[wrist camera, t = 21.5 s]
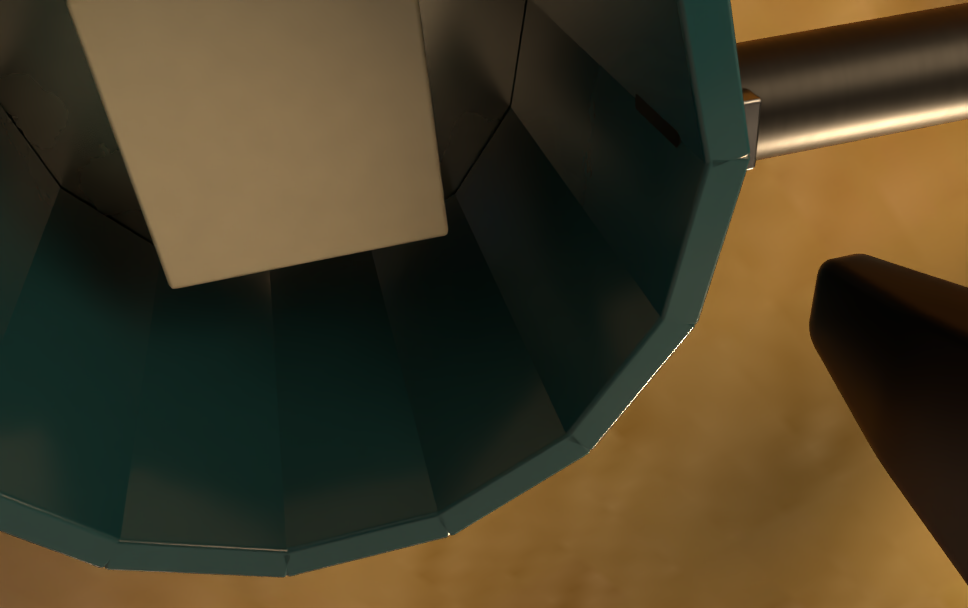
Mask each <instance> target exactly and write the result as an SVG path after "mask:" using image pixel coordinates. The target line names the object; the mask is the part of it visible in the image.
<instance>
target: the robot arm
mask: <svg viewBox="0 0 968 608" xmlns="http://www.w3.org/2000/svg"><path fill="white" fill-rule="evenodd" d="M809 330H810V336H811V339H812V342H813V344H814V347H815V349H816V350H817V352H818V354H819V356H820V357H821V359H822V361H823V363H824V365H825V366H826V368H827V370H828V372H829V374H830V375H831V377H832V379H833V381H834V382H835V384H836V386H837V388H838V390H839V391H840V393H841V395H842V397H843V398H844V400H845V402H846V404H847V406H848V407H849V409H850V411H851V413H852V415H853V416H854V418H855V420H856V422H857V423H858V425H859V427H860V429H861V431H862V432H863V434H864V436H865V438H866V439H867V441H868V443H869V444H870V446H871V448H872V449H873V451H874V453H875V454H876V456H877V458H878V459H879V461H880V462H881V464H882V465H883V467H884V468H885V470H886V471H887V473H888V474H889V475H890V477H891V478H892V480H893V481H894V483H895V484H896V485H897V487H898V488H899V490H900V491H901V492H902V494H903V495H904V497H905V498H906V499H907V501H908V502H909V504H910V505H911V506H912V508H913V509H914V511H915V512H916V513H917V515H918V516H919V518H920V519H921V520H922V522H923V523H924V525H925V526H926V527H927V529H928V530H929V532H930V533H931V534H932V536H933V537H934V539H935V540H936V541H937V543H938V544H939V546H940V547H941V548H942V550H943V551H944V553H945V554H946V555H947V557H948V558H949V560H950V561H951V562H952V564H953V565H954V567H955V568H956V569H957V571H958V572H959V574H960V575H961V576H962V578H963V579H964V581H965V582H966V583H967V585H968V288H967V287H964V286H961V285H958V284H955V283H952V282H949V281H946V280H943V279H939V278H936V277H933V276H930V275H927V274H924V273H921V272H918V271H915V270H912V269H909V268H906V267H903V266H899V265H896V264H893V263H890V262H887V261H884V260H881V259H878V258H875V257H872V256H869V255H865V254H853V255H848V256H843V257H839V258H834V259H829V260H827V261H826V262H824V263H823V264H822V265H821V267H820V269H819V271H818V274H817V280H816V286H815V291H814V297H813V303H812V309H811V315H810V321H809Z"/></svg>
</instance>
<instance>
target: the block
mask: <svg viewBox="0 0 968 608" xmlns="http://www.w3.org/2000/svg"><path fill="white" fill-rule="evenodd" d="M66 6H67V9H68V12H69V14H70V17H71V20H72V23H73V25H74V28H75V31H76V34H77V36H78V39H79V42H80V44H81V47H82V50H83V53H84V55H85V58H86V61H87V64H88V66H89V69H90V72H91V74H92V77H93V80H94V83H95V85H96V88H97V91H98V94H99V96H100V99H101V102H102V104H103V107H104V110H105V113H106V115H107V118H108V121H109V124H110V126H111V129H112V132H113V135H114V137H115V140H116V143H117V145H118V148H119V151H120V154H121V156H122V159H123V162H124V165H125V167H126V170H127V173H128V175H129V178H130V181H131V184H132V186H133V189H134V192H135V195H136V197H137V200H138V203H139V205H140V208H141V211H142V214H143V216H144V219H145V222H146V225H147V227H148V230H149V233H150V236H151V238H152V241H153V244H154V246H155V249H156V252H157V255H158V257H159V260H160V263H161V266H162V268H163V271H164V274H165V276H166V279H167V282H168V285H169V286H170V287H171V288H172V289H178V288H183V287H188V286H193V285H198V284H203V283H208V282H213V281H218V280H223V279H228V278H233V277H238V276H243V275H248V274H254V273H259V272H264V271H269V270H274V269H279V268H284V267H289V266H294V265H299V264H304V263H309V262H314V261H319V260H324V259H329V258H334V257H339V256H344V255H349V254H354V253H359V252H364V251H369V250H375V249H380V248H385V247H390V246H395V245H400V244H405V243H410V242H415V241H420V240H425V239H430V238H435V237H440V236H445V235H446V234H447V233H448V223H447V215H446V208H445V200H444V192H443V184H442V176H441V169H440V161H439V153H438V145H437V138H436V130H435V122H434V114H433V107H432V99H431V91H430V83H429V75H428V68H427V60H426V52H425V44H424V37H423V29H422V21H421V13H420V6H419V0H66Z"/></svg>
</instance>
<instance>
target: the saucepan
mask: <svg viewBox="0 0 968 608" xmlns="http://www.w3.org/2000/svg"><path fill="white" fill-rule="evenodd" d="M419 6H420V13H421V21H422V29H423V37H424V44H425V52H426V60H427V68H428V75H429V83H430V91H431V99H432V107H433V114H434V122H435V130H436V138H437V145H438V153H439V161H440V169H441V176H442V184H443V192H444V200H445V208H446V215H447V223H448V233H447V234H446V235H445V236H440V237H435V238H430V239H425V240H420V241H415V242H410V243H405V244H400V245H395V246H390V247H385V248H380V249H375V250H369V251H364V252H359V253H354V254H349V255H344V256H339V257H334V258H329V259H324V260H319V261H314V262H309V263H304V264H299V265H294V266H289V267H284V268H279V269H274V270H269V271H264V272H259V273H254V274H248V275H243V276H238V277H233V278H228V279H223V280H218V281H213V282H208V283H203V284H198V285H193V286H188V287H183V288H178V289H172V288H171V287H170V286H169V285H168V282H167V279H166V276H165V274H164V271H163V268H162V266H161V263H160V260H159V257H158V255H157V252H156V249H155V246H154V244H153V241H152V238H151V236H150V233H149V230H148V227H147V225H146V222H145V219H144V216H143V214H142V211H141V208H140V205H139V203H138V200H137V197H136V195H135V192H134V189H133V186H132V184H131V181H130V178H129V175H128V173H127V170H126V167H125V165H124V162H123V159H122V156H121V154H120V151H119V148H118V145H117V143H116V140H115V137H114V135H113V132H112V129H111V126H110V124H109V121H108V118H107V115H106V113H105V110H104V107H103V104H102V102H101V99H100V96H99V94H98V91H97V88H96V85H95V83H94V80H93V77H92V74H91V72H90V69H89V66H88V64H87V61H86V58H85V55H84V53H83V50H82V47H81V44H80V42H79V39H78V36H77V34H76V31H75V28H74V25H73V23H72V20H71V17H70V14H69V12H68V9H67V6H66V0H0V531H1V532H4V533H7V534H9V535H12V536H15V537H17V538H20V539H23V540H26V541H28V542H31V543H34V544H36V545H39V546H42V547H45V548H47V549H50V550H53V551H55V552H58V553H61V554H64V555H66V556H69V557H72V558H74V559H77V560H80V561H83V562H85V563H88V564H91V565H93V566H96V567H99V568H103V567H105V569H108V570H126V571H148V572H171V573H193V574H215V575H238V576H260V577H285V576H286V575H287V576H294V575H298V574H302V573H306V572H310V571H314V570H318V569H322V568H326V567H330V566H334V565H338V564H342V563H346V562H350V561H354V560H358V559H362V558H366V557H370V556H374V555H378V554H382V553H386V552H390V551H394V550H398V549H402V548H406V547H410V546H414V545H418V544H422V543H426V542H430V541H434V540H438V539H442V538H446V537H448V536H450V535H455V534H456V533H458V532H460V531H461V530H463V529H465V528H466V527H468V526H470V525H471V524H473V523H475V522H476V521H478V520H480V519H481V518H483V517H484V516H486V515H488V514H489V513H491V512H493V511H494V510H496V509H498V508H499V507H501V506H503V505H504V504H506V503H508V502H509V501H511V500H513V499H514V498H516V497H518V496H519V495H521V494H522V493H524V492H526V491H527V490H529V489H531V488H532V487H534V486H536V485H537V484H539V483H541V482H542V481H544V480H546V479H547V478H549V477H551V476H552V475H554V474H556V473H557V472H559V471H560V470H562V469H564V468H565V467H567V466H569V465H570V464H572V463H574V462H575V461H577V460H579V459H580V458H582V457H584V456H585V455H587V454H588V453H589V452H590V450H592V449H594V447H595V446H596V445H597V444H598V443H599V441H600V440H601V439H602V438H603V437H604V435H605V434H606V433H607V432H608V431H609V429H610V428H611V427H612V426H613V425H614V423H615V422H616V421H617V420H618V419H619V417H620V416H621V415H622V414H623V413H624V411H625V410H626V409H627V408H628V407H629V405H630V404H631V403H632V402H633V401H634V399H635V398H636V397H637V396H638V395H639V393H640V392H641V391H642V390H643V389H644V387H645V386H646V385H647V384H648V383H649V381H650V380H651V379H652V378H653V377H654V375H655V374H656V373H657V372H658V371H659V369H660V368H661V367H662V366H663V365H664V363H665V362H666V361H667V360H668V359H669V357H670V356H671V355H672V354H673V353H674V351H675V350H676V349H677V348H678V347H679V345H680V344H681V343H682V342H683V341H684V339H685V338H686V337H687V336H688V335H689V333H690V332H691V331H692V330H693V329H694V327H695V324H696V323H697V322H698V320H699V317H700V314H701V311H702V308H703V305H704V302H705V299H706V295H707V292H708V289H709V286H710V283H711V280H712V277H713V274H714V271H715V268H716V264H717V261H718V258H719V255H720V252H721V249H722V246H723V243H724V240H725V236H726V233H727V230H728V227H729V224H730V221H731V218H732V215H733V212H734V208H735V205H736V202H737V199H738V196H739V193H740V190H741V187H742V184H743V180H744V177H745V174H746V171H747V170H752V169H754V167H755V162H756V160H761V159H766V158H771V157H776V156H781V155H786V154H791V153H796V152H801V151H806V150H812V149H817V148H822V147H827V146H832V145H837V144H842V143H847V142H852V141H857V140H862V139H868V138H873V137H878V136H883V135H888V134H893V133H898V132H903V131H908V130H913V129H918V128H924V127H929V126H934V125H939V124H944V123H949V122H954V121H959V120H964V119H968V3H963V4H957V5H952V6H946V7H940V8H934V9H929V10H923V11H917V12H912V13H906V14H900V15H894V16H889V17H883V18H877V19H872V20H866V21H860V22H854V23H849V24H843V25H837V26H831V27H826V28H820V29H814V30H809V31H803V32H797V33H791V34H786V35H780V36H774V37H768V38H763V39H757V40H751V41H746V42H740V43H736V39H735V32H734V24H733V17H732V9H731V2H730V0H419Z"/></svg>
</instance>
